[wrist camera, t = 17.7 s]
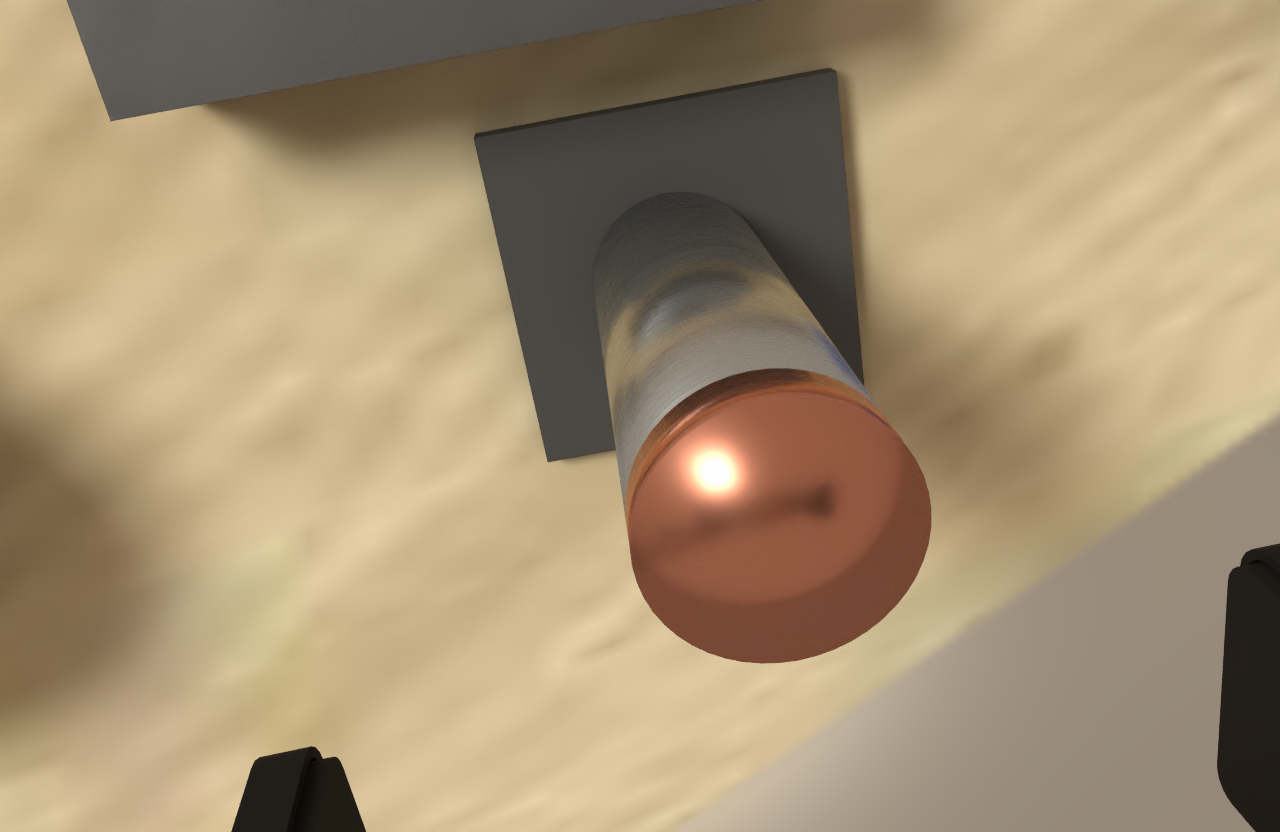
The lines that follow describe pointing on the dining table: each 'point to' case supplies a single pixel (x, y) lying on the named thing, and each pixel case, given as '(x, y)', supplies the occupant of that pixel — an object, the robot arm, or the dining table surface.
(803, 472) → the silver copper cylinder
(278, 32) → the block
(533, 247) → the rubber pad
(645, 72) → the dining table surface
